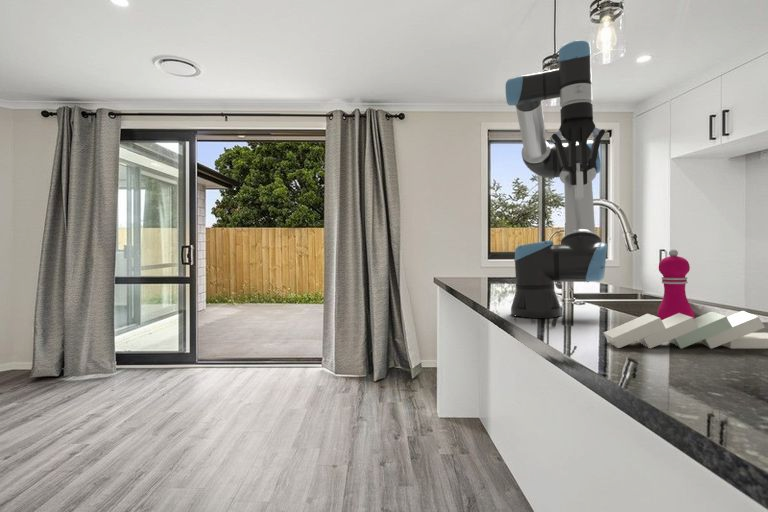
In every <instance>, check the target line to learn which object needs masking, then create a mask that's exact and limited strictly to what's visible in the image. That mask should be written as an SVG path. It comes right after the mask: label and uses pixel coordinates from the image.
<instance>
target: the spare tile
mask: <svg viewBox="0 0 768 512" xmlns="http://www.w3.org/2000/svg"><path fill="white" fill-rule="evenodd" d="M727 317H728V316H725V315H723V314H721V313H718V312H714V311H709V312H707V313H704V314H702V315H700V316H697V317H695V319H694V320H695V322H696V324H697V326H698V329H696V330H693V331H691V332H688V333H686V334H684V335H681V336H679V337H677V338H674V339H672V340H669V341H668V342H670V343H671V344H672V345H674V344H675V345H674V346H676V347H677V346H678V347H677V348H679V349H682V350H683V349H684V348H687V347H689V346H691V345H694V344H696V343H698V342H699V341H701V340H703V339H706V338H708V337H711V336H713V335H715V334H718V333H720V332H723V331H725V330H727V329H730V328H732V325H731V324H730V322H729V321H728V319H727ZM699 343H700V342H699Z"/></svg>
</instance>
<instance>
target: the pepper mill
mask: <svg viewBox="0 0 768 512" xmlns="http://www.w3.org/2000/svg"><path fill="white" fill-rule="evenodd" d="M678 255H679V251H678V250H676V249H671V250H669V252H668V256H666V257H664V258H662V259H661V260H660V261H659V263H658V271H659V272H660V274H661V275H662V276H663V277H661V284H663V290H664V291H663V297H662V300H661V302H660V304H659V307H658V310H657V313H656V317H659V318H660V319H661V320H664V319H666V318H668V317H671V316H673V315H675V314H678V313H681V314H684V315H687V316H690V317H693V319H695V318H696V317H695V312H694V309H693V308H692V306H691V304H690V303H689V300H688V298H687V297H688V296H687V294H686V284H688V277H687V276H686V275H687V274H688V273H689V271H690V269H691V266H690V263H689V261H688V260H687V259H686V258H684V257H683V256H678Z"/></svg>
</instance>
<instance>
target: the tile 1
mask: <svg viewBox="0 0 768 512" xmlns="http://www.w3.org/2000/svg"><path fill="white" fill-rule="evenodd" d="M663 329H665V326H664V324H663V322H662V320H661V319H660V318H659V317H657V315H653V314H650V313H645V314H643V315H641V316H639V317H637V318H633V319H632V320H629V321H627V322H625V323H622V324H620V325H618V326H616V327H613V328H611V329H608V330H607V331H603V335H604V336H605V339H606V340H607V342H608V343H609V344H610V345H612V346H613V345H614V346H613V347H615V348H616V349H618V348H619V349H620V348H623V347H625V346H627V345H630V344H632V343H634V342H638V341H637V340H640V339H642V338H644V337H647V336H649V335H651V334H654V333H656V332H658V331H661V330H663Z"/></svg>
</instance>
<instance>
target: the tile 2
mask: <svg viewBox="0 0 768 512" xmlns="http://www.w3.org/2000/svg"><path fill="white" fill-rule="evenodd" d="M662 322H663V324H664V326H665V329H663V330H661V331H658V332H656V333H654V334H651V335H649V336H647V337H644V338H642V339H640V340H637V341H636V342H638V343H639V342H640V343H641V345H642V344H643V345H642V346H644V345H645V346H644V347H646V346H647V347H648V349H649V348H650V349H652V348H654V347H658V346H659V345H661V344H664V343H666V342H670V341H669V340H672V339H674V338H677V337H679V336H681V335H684V334H686V333H688V332H691V331H693V330H696V329H698V326H697V324H696V322H695V320H694V319H693V317H690V316H687V315H684V314H681V313H678V314H675V315H673V316H671V317H668V318H666V319H664V320H662ZM640 343H639V344H640ZM647 347H646V348H647Z"/></svg>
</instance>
